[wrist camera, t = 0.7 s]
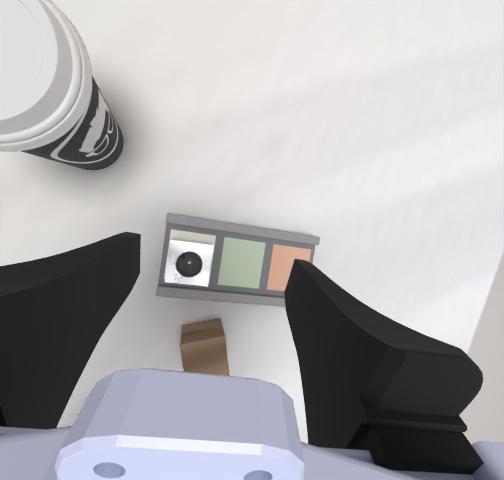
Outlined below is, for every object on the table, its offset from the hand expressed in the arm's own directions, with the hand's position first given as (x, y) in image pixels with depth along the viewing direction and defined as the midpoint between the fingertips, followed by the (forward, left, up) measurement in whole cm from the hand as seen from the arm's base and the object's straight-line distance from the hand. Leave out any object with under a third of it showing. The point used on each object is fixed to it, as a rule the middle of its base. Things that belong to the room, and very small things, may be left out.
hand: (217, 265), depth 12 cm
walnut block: (-12, -2, -19) cm, 22 cm away
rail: (-2, -5, -19) cm, 19 cm away
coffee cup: (+9, +13, -19) cm, 25 cm away
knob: (-2, +1, -17) cm, 17 cm away
